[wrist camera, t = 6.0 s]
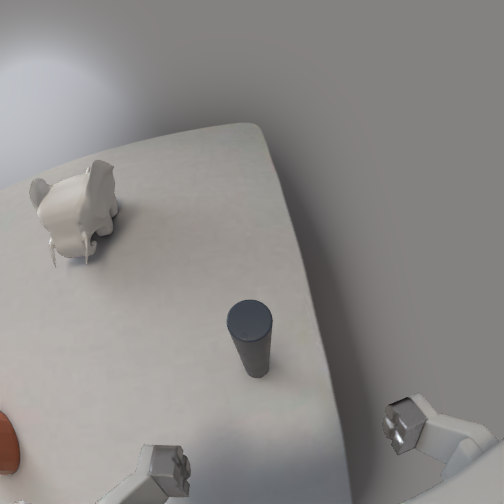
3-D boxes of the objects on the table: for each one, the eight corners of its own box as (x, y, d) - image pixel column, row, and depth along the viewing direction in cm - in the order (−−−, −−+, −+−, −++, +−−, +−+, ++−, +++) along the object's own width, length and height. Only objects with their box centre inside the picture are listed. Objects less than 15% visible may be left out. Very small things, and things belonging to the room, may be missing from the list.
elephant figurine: (51, 280, 26) (4, 235, 18) (76, 201, 32) (45, 152, 25) (119, 275, 26) (75, 220, 18) (137, 188, 32) (112, 131, 25)
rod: (273, 367, 21) (282, 319, 11) (256, 382, 20) (248, 351, 10) (257, 351, 22) (250, 290, 11) (240, 366, 21) (217, 319, 11)
